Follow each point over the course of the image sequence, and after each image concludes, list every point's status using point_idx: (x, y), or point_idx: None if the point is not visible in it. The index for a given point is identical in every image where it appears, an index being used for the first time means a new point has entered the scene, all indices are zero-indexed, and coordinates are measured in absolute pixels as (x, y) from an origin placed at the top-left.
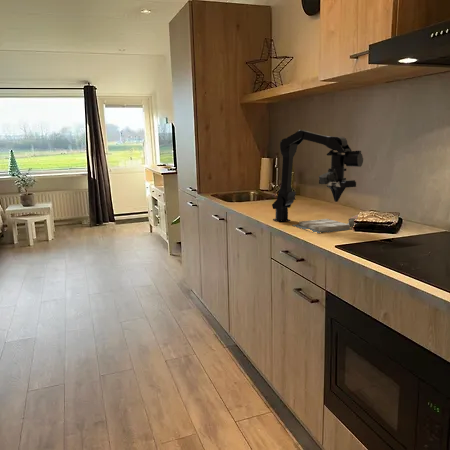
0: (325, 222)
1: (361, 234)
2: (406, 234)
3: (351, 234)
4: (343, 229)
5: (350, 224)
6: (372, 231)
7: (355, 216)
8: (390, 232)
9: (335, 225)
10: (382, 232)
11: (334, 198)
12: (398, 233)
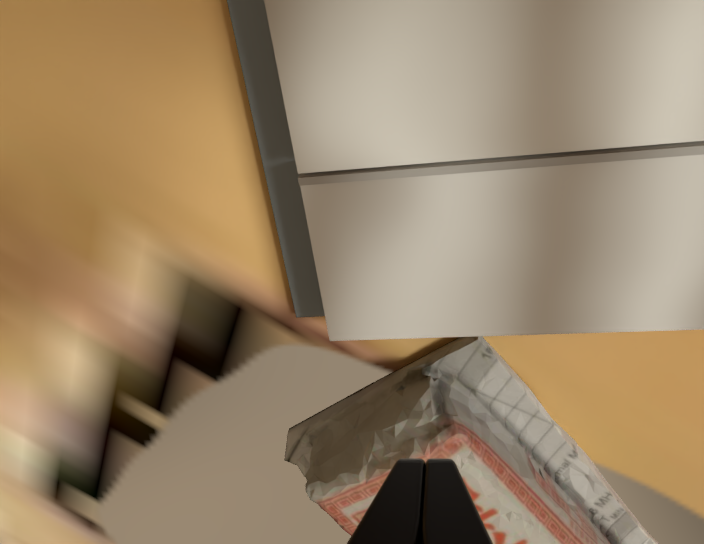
0: (628, 133)
1: (36, 250)
2: (15, 531)
3: (44, 152)
4: (283, 204)
5: (411, 382)
6: (157, 412)
7: (492, 541)
8: (95, 494)
9: (348, 147)
10: (103, 450)
11: (442, 525)
12: (53, 513)
